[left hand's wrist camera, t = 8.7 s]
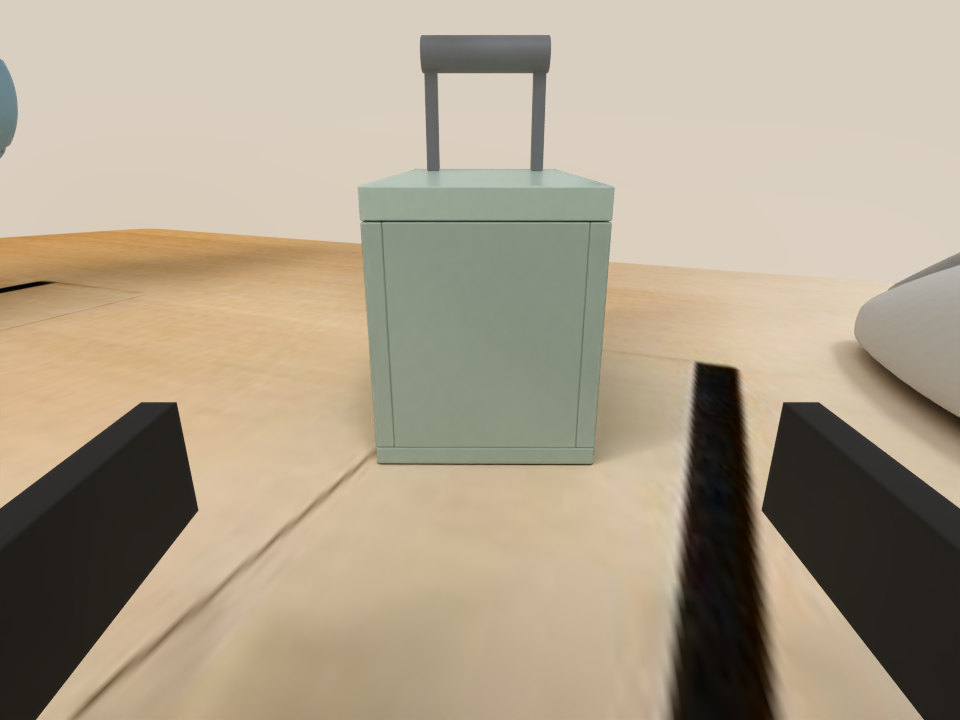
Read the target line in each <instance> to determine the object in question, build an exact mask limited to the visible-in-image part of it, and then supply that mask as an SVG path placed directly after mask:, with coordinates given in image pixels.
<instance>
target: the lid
mask: <svg viewBox="0 0 960 720" xmlns="http://www.w3.org/2000/svg"><path fill="white" fill-rule="evenodd" d="M550 57H551V38H550V35H422V36H421V38H420V58H421V68H422V72H423V73H425V107H426V139H427V169H414V170H411V171H407V172H404V173H401V174H398V175H394V176H391V177H388V178H385V179H381V180H378V181H375V182H372V183H368V184H365V185H362V186H359V187H358V197H359V212H360V220H361V221H611V220H612V214H613V201H614V189H615V188H614V187H613V186H610V185H607V184H603V183H600V182H597V181H593V180H590V179H586V178H583V177H580V176H576V175H573V174H569V173H566V172H563V171H559V170H556V169H543V149H544V121H545V93H546V73H548V71H549V67H550ZM437 73H533V100H532V134H531V168H530V169H440V165H439V122H438V78H437Z"/></svg>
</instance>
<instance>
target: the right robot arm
mask: <svg viewBox="0 0 960 720" xmlns="http://www.w3.org/2000/svg"><path fill="white" fill-rule="evenodd" d="M17 117H18V107H17V97H16V91H15V87H14V83H13V80H12V78H11V75H10V73H9V71H8V69H7V67H6V65H5V63H4V62H3V60H1V59H0V158H1V157H2V155H3V154H4V153H5V149H6V147H7V146H9V145H10V144H11V142H12V140H13V137H14V133H15V130H16V125H17Z"/></svg>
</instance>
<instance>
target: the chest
mask: <svg viewBox="0 0 960 720" xmlns="http://www.w3.org/2000/svg"><path fill="white" fill-rule="evenodd" d="M611 226H612V224H611V222H609V221H363V222H361V238H362V252H363V267H364V281H365V295H366V309H367V323H368V337H369V352H370V366H371V380H372V394H373V408H374V422H375V437H376V446H377V448H376V451H377V462H378V463H448V464H592V463H593V456H594V448H593V447H594V444H595V431H596V418H597V405H598V392H599V380H600V367H601V354H602V341H603V328H604V316H605V303H606V290H607V277H608V264H609V252H610V239H611Z"/></svg>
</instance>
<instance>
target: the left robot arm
mask: <svg viewBox="0 0 960 720" xmlns="http://www.w3.org/2000/svg"><path fill="white" fill-rule="evenodd" d="M197 511H198V506H197V501H196V496H195V491H194V486H193V481H192V476H191V471H190V466H189V461H188V457H187V452H186V447H185V442H184V437H183V432H182V427H181V422H180V417H179V412H178V407H177V402H141V403H140V404H138V405H137V406H136V407H134V408H133V409H132V410H130V411H129V412H128V413H126V414H125V415H124V416H122V417H121V418H120V419H119V420H117V421H116V422H115V423H113V424H112V425H111V426H109V427H108V428H107V429H105V430H104V431H103V432H101V433H100V434H99V435H97V436H96V437H95V438H93V439H92V440H91V441H89V442H88V443H87V444H85V445H84V446H83V447H81V448H80V449H79V450H77V451H76V452H75V453H73V454H72V455H71V456H69V457H68V458H67V459H65V460H64V461H63V462H61V463H60V464H59V465H57V466H56V467H55V468H53V469H52V470H51V471H49V472H48V473H47V474H46V475H44V476H43V477H42V478H40V479H39V480H38V481H36V482H35V483H34V484H32V485H31V486H30V487H28V488H27V489H26V490H24V491H23V492H22V493H20V494H19V495H18V496H16V497H15V498H14V499H12V500H11V501H10V502H8V503H7V504H6V505H4V506H3V507H2V508H0V720H36V719H37V718H38V716H39V715H40V714H41V713H42V711H43V710H44V709H45V707H46V706H47V705H48V704H49V702H50V701H51V700H52V698H53V697H54V696H55V695H56V693H57V692H58V691H59V689H60V688H61V687H62V685H63V684H64V683H65V682H66V680H67V679H68V678H69V676H70V675H71V674H72V673H73V671H74V670H75V669H76V667H77V666H78V665H79V664H80V662H81V661H82V660H83V658H84V657H85V656H86V655H87V653H88V652H89V651H90V649H91V648H92V647H93V646H94V644H95V643H96V642H97V640H98V639H99V638H100V636H101V635H102V634H103V633H104V631H105V630H106V629H107V627H108V626H109V625H110V624H111V622H112V621H113V620H114V618H115V617H116V616H117V615H118V613H119V612H120V611H121V609H122V608H123V607H124V606H125V604H126V603H127V602H128V600H129V599H130V598H131V597H132V595H133V594H134V593H135V591H136V590H137V589H138V587H139V586H140V585H141V584H142V582H143V581H144V580H145V578H146V577H147V576H148V575H149V573H150V572H151V571H152V569H153V568H154V567H155V566H156V564H157V563H158V562H159V560H160V559H161V558H162V557H163V555H164V554H165V553H166V551H167V550H168V549H169V548H170V546H171V545H172V544H173V542H174V541H175V540H176V538H177V537H178V536H179V535H180V533H181V532H182V531H183V529H184V528H185V527H186V526H187V524H188V523H189V522H190V520H191V519H192V518H193V517H194V515H195V514H196V513H197ZM762 511H763V513H764V514H765V515H766V517H767V518H768V519H769V520H770V522H771V523H772V524H773V526H774V527H775V528H776V529H777V531H778V532H779V533H780V535H781V536H782V537H783V538H784V540H785V541H786V542H787V544H788V545H789V546H790V548H791V549H792V550H793V551H794V553H795V554H796V555H797V557H798V558H799V559H800V560H801V562H802V563H803V564H804V566H805V567H806V568H807V569H808V571H809V572H810V573H811V575H812V576H813V577H814V578H815V580H816V581H817V582H818V584H819V585H820V586H821V587H822V589H823V590H824V591H825V593H826V594H827V595H828V597H829V598H830V599H831V600H832V602H833V603H834V604H835V606H836V607H837V608H838V609H839V611H840V612H841V613H842V615H843V616H844V617H845V618H846V620H847V621H848V622H849V624H850V625H851V626H852V627H853V629H854V630H855V631H856V633H857V634H858V635H859V636H860V638H861V639H862V640H863V642H864V643H865V644H866V646H867V647H868V648H869V649H870V651H871V652H872V653H873V655H874V656H875V657H876V658H877V660H878V661H879V662H880V664H881V665H882V666H883V667H884V669H885V670H886V671H887V673H888V674H889V675H890V676H891V678H892V679H893V680H894V682H895V683H896V684H897V685H898V687H899V688H900V689H901V691H902V692H903V693H904V695H905V696H906V697H907V698H908V700H909V701H910V702H911V704H912V705H913V706H914V707H915V709H916V710H917V711H918V713H919V714H920V715H921V716H922V718H923V719H924V720H960V508H958V507H957V506H956V505H954V504H953V503H952V502H950V501H949V500H948V499H946V498H945V497H944V496H942V495H941V494H940V493H938V492H937V491H936V490H934V489H933V488H932V487H930V486H929V485H928V484H926V483H925V482H924V481H922V480H921V479H920V478H918V477H917V476H916V475H914V474H913V473H912V472H911V471H909V470H908V469H907V468H905V467H904V466H903V465H901V464H900V463H899V462H897V461H896V460H895V459H893V458H892V457H891V456H889V455H888V454H887V453H885V452H884V451H883V450H881V449H880V448H879V447H877V446H876V445H875V444H873V443H872V442H871V441H869V440H868V439H867V438H865V437H864V436H863V435H861V434H860V433H859V432H857V431H856V430H855V429H853V428H852V427H851V426H849V425H848V424H847V423H845V422H844V421H843V420H841V419H840V418H839V417H838V416H836V415H835V414H834V413H832V412H831V411H830V410H828V409H827V408H826V407H824V406H823V405H822V404H820V403H819V402H783V407H782V412H781V417H780V422H779V427H778V432H777V437H776V442H775V447H774V452H773V457H772V461H771V466H770V471H769V476H768V481H767V486H766V491H765V496H764V501H763V506H762Z"/></svg>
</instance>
